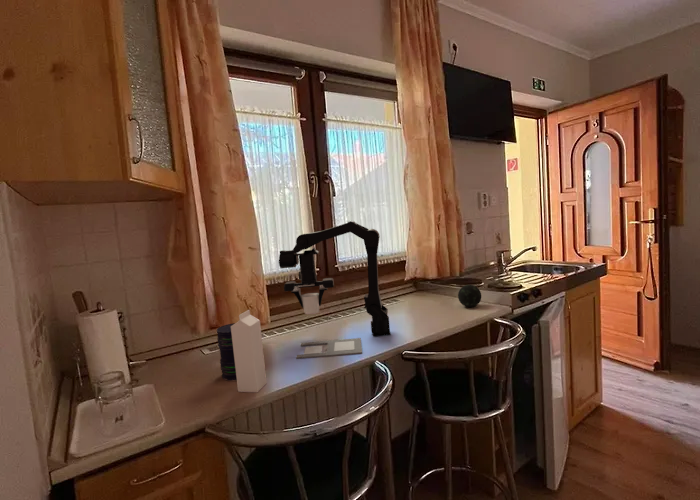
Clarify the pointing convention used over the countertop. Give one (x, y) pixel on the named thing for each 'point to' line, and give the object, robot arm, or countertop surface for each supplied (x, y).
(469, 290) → the decorative stone
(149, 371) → the countertop surface
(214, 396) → the countertop surface
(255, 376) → the milk
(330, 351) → the label board
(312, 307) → the shot glass
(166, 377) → the countertop surface
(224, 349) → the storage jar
